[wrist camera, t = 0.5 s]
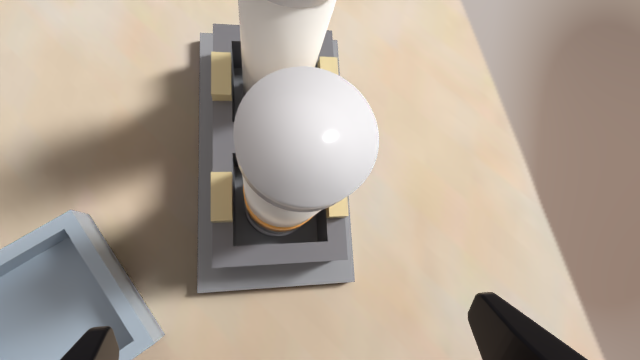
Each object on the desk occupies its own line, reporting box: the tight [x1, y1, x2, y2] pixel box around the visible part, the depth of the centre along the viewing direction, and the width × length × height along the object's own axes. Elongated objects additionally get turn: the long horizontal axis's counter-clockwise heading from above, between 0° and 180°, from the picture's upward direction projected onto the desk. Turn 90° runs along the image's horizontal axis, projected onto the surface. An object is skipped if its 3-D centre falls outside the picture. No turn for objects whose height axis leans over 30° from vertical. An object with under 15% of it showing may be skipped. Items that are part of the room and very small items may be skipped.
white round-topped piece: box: [233, 66, 379, 237], centre depth 16 cm, size 4×4×13 cm
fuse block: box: [197, 24, 355, 293], centre depth 21 cm, size 16×9×5 cm, turn 3°
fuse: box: [238, 0, 336, 99], centre depth 17 cm, size 4×4×13 cm
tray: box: [0, 210, 165, 360], centre depth 18 cm, size 8×8×2 cm
